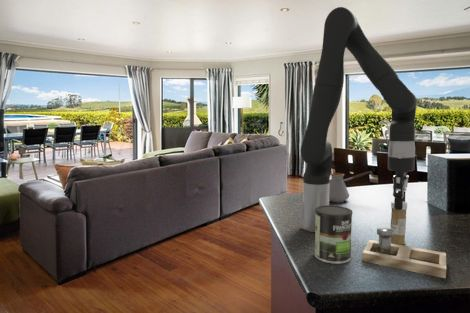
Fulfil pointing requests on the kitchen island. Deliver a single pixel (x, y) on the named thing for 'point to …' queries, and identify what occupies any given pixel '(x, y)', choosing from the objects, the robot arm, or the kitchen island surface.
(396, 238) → the sprinkles bottle
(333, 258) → the coffee can
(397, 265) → the bolt-hole plate
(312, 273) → the kitchen island surface
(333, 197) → the coffee pot
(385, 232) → the grey metal bolt
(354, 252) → the kitchen island surface
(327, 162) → the robot arm
